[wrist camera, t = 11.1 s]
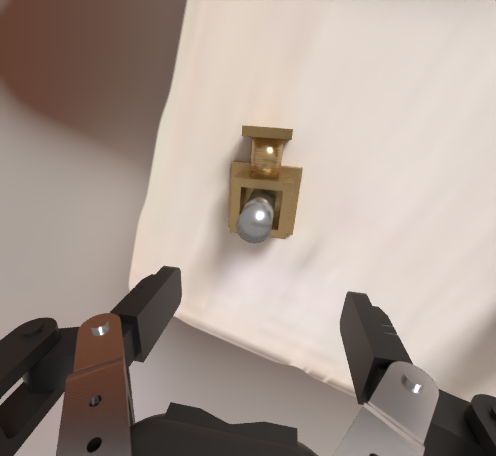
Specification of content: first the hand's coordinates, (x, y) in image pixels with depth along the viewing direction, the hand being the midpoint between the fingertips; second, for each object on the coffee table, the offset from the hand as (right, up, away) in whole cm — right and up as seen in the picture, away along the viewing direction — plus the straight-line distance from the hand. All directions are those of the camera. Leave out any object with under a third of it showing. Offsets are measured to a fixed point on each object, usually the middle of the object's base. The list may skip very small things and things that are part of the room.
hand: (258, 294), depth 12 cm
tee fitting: (+2, +9, +21) cm, 23 cm away
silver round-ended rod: (+2, +7, +21) cm, 22 cm away
